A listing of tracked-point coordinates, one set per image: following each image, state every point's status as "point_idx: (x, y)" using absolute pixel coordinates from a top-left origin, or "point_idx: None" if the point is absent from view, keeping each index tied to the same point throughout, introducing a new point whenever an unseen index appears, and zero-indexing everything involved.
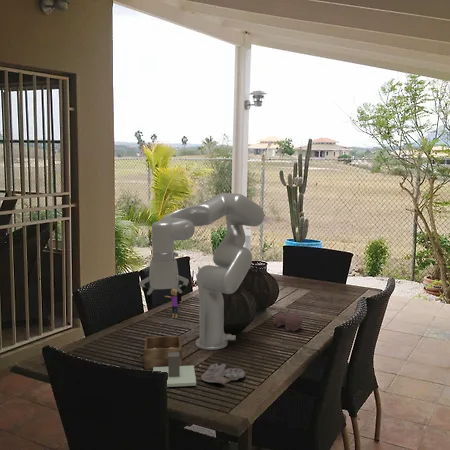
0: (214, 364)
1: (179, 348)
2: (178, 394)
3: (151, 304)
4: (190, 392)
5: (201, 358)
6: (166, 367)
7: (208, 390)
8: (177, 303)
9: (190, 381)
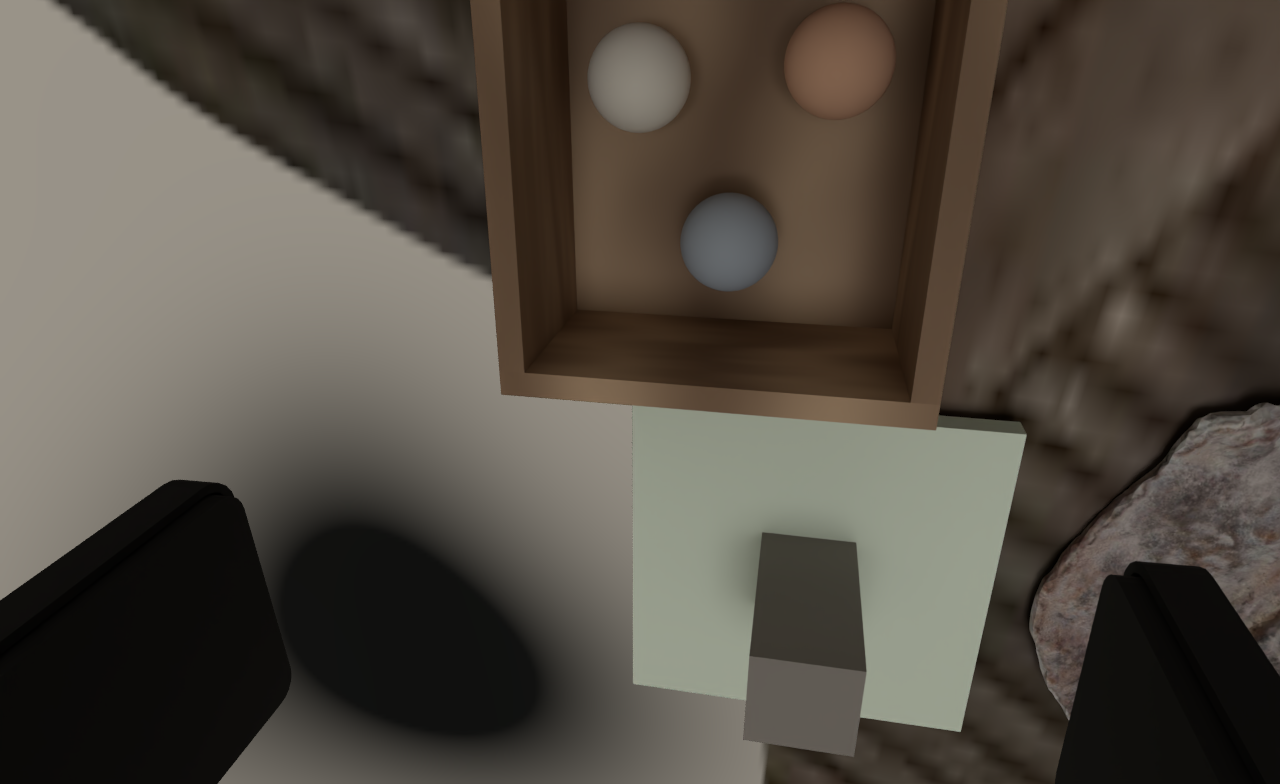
0: (1264, 433)
1: (908, 425)
2: (809, 754)
3: (259, 719)
4: (895, 752)
5: (1198, 126)
6: (752, 431)
7: (1033, 759)
8: (1065, 745)
9: (919, 707)
